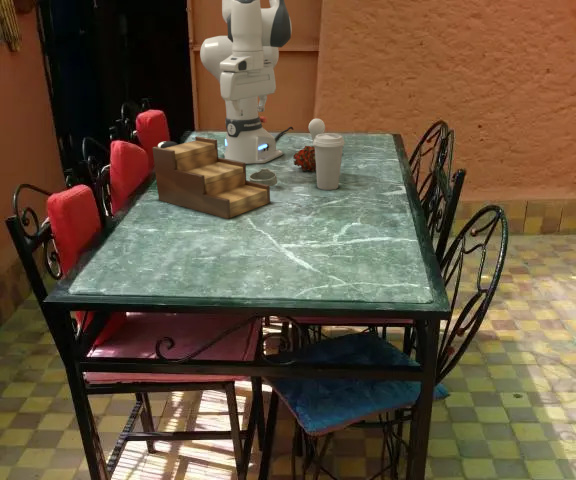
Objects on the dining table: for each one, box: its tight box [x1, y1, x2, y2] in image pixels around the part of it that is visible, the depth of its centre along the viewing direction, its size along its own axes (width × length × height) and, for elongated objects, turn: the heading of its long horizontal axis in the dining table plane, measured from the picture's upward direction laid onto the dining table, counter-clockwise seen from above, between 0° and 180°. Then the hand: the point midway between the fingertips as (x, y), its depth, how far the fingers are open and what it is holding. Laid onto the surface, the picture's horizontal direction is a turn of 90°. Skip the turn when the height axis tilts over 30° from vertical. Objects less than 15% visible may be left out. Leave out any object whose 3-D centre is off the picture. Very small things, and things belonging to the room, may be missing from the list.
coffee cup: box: [312, 132, 346, 191], centre depth 193 cm, size 10×10×15 cm
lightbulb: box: [307, 118, 326, 146], centre depth 235 cm, size 6×6×11 cm
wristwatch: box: [248, 167, 279, 187], centre depth 198 cm, size 9×6×5 cm
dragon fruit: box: [292, 145, 316, 172], centre depth 212 cm, size 8×8×12 cm
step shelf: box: [152, 135, 271, 220], centre depth 182 cm, size 18×28×15 cm, turn 51°
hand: (250, 113), depth 188 cm, fingers open, 8 cm apart
